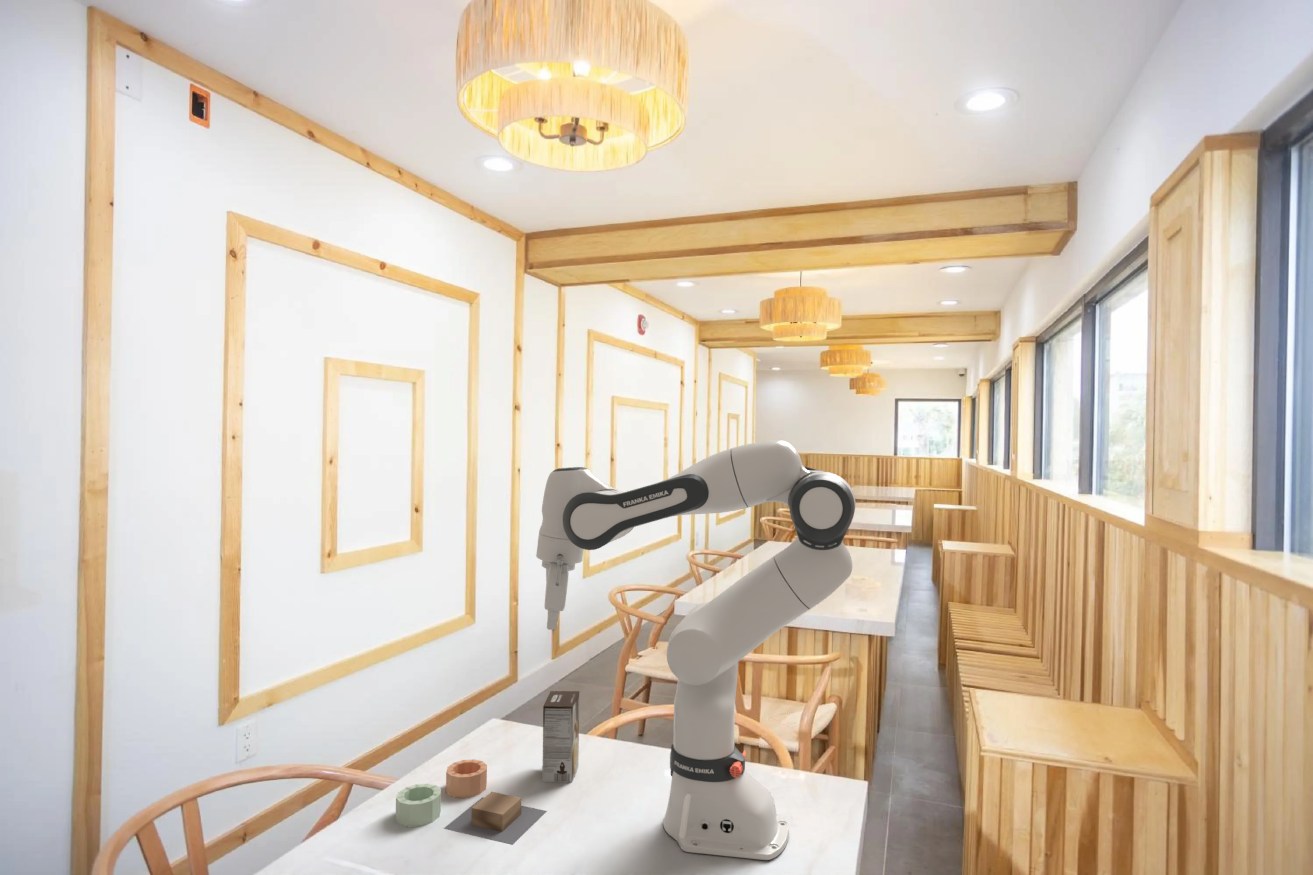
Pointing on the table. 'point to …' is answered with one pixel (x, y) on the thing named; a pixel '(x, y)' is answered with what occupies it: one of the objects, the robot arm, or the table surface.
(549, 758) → the coffee box
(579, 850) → the table surface
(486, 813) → the cardboard box
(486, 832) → the mat
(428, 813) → the bowl sage
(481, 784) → the bowl terracotta
